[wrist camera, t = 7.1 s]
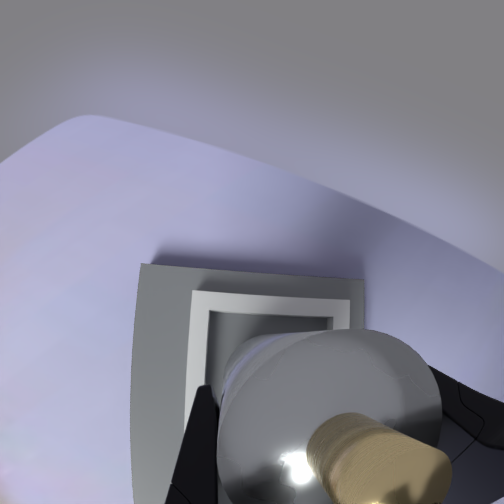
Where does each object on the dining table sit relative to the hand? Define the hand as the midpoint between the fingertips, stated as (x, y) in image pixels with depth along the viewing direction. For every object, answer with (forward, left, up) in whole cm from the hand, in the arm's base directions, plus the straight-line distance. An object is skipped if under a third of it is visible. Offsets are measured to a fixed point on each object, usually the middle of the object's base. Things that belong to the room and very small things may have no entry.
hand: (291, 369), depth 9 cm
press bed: (-5, +1, -10) cm, 12 cm away
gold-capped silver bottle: (-1, 0, -7) cm, 7 cm away
